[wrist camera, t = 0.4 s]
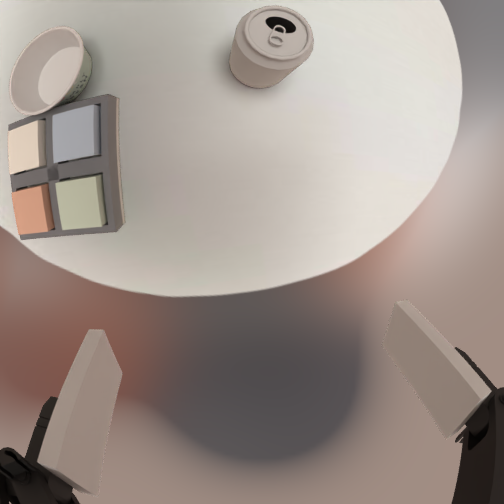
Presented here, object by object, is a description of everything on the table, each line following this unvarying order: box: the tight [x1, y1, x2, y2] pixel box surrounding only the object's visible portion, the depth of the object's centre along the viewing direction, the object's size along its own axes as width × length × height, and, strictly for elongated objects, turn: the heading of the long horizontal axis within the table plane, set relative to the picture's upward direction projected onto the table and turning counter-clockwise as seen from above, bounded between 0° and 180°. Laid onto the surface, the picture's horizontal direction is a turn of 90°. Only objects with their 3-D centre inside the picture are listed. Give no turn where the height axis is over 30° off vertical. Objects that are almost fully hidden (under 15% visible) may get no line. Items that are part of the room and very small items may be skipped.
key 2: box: [12, 183, 55, 235], centre depth 27 cm, size 6×6×2 cm
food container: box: [9, 26, 92, 115], centre depth 21 cm, size 12×12×6 cm
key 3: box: [52, 105, 101, 163], centre depth 24 cm, size 6×6×2 cm
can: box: [229, 6, 314, 88], centre depth 23 cm, size 8×8×12 cm
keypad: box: [9, 94, 125, 240], centre depth 28 cm, size 17×17×4 cm
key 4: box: [8, 120, 47, 174], centre depth 23 cm, size 6×6×2 cm
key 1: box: [55, 174, 108, 230], centre depth 28 cm, size 6×6×2 cm
